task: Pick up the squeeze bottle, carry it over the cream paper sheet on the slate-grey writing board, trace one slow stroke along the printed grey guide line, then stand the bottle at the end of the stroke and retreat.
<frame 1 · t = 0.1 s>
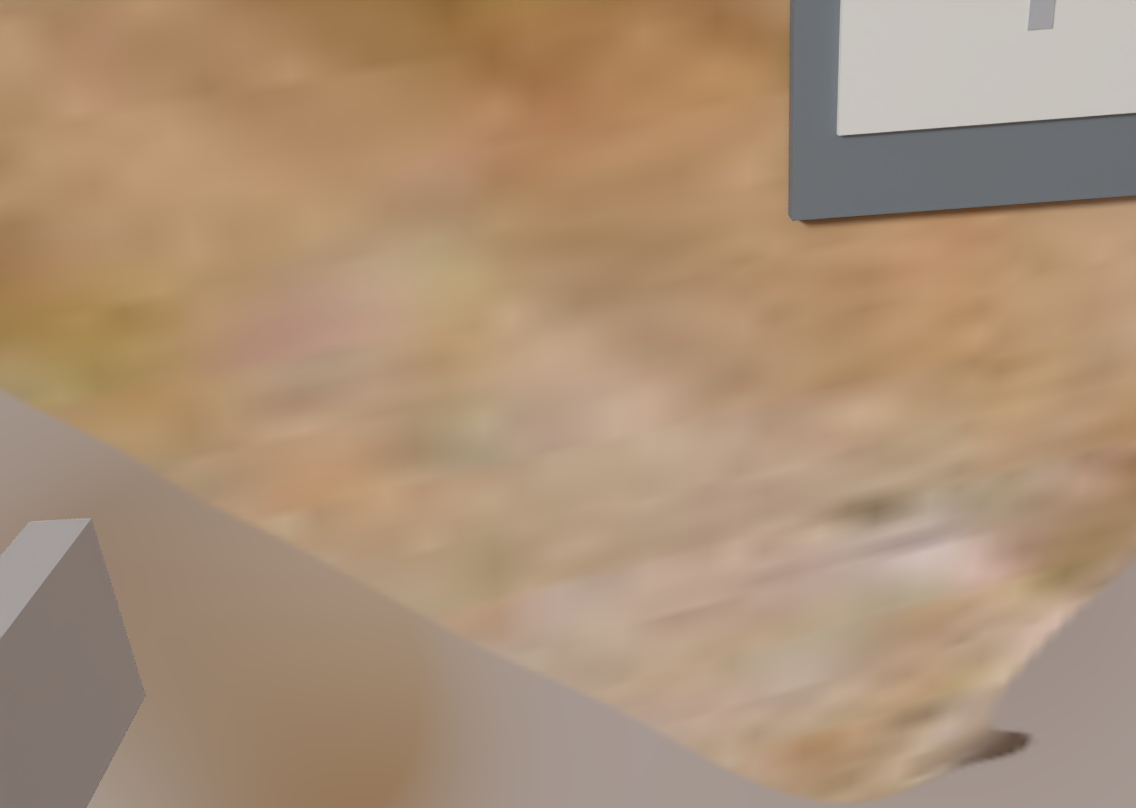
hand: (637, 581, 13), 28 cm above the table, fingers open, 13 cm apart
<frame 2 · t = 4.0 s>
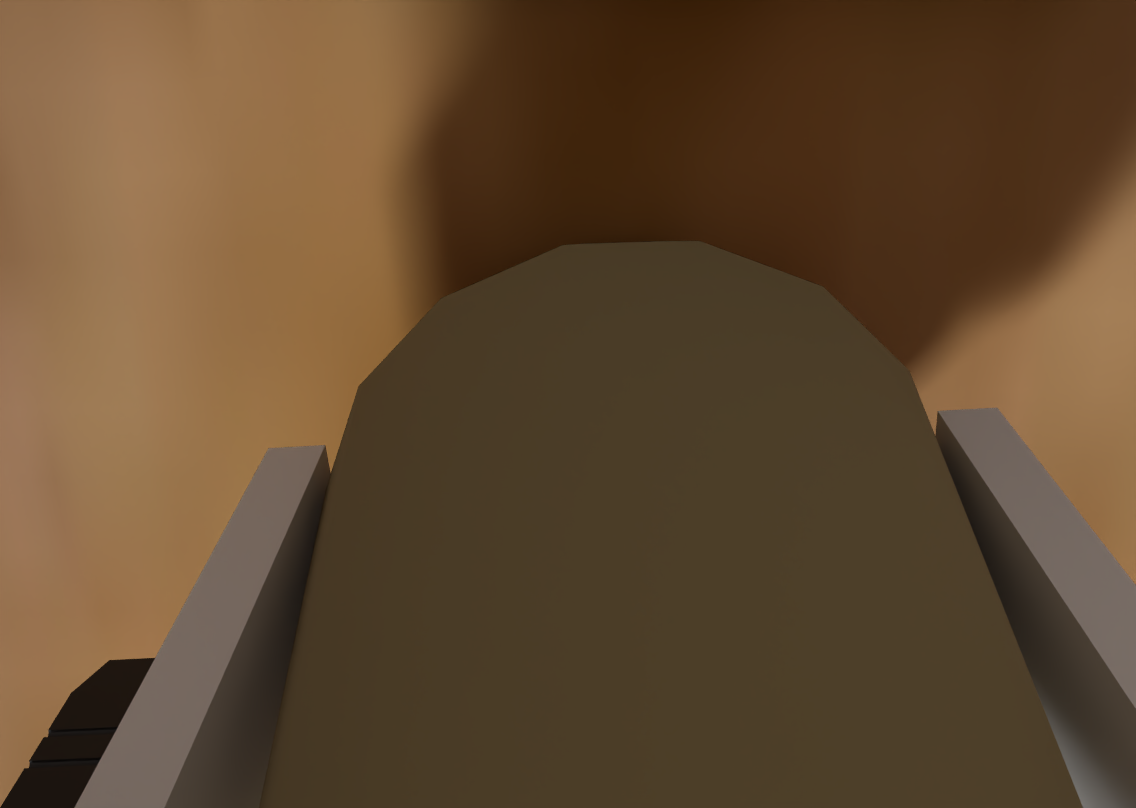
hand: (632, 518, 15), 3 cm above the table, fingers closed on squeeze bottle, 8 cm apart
squeeze bottle: (623, 405, 18), on the table, touching gripper
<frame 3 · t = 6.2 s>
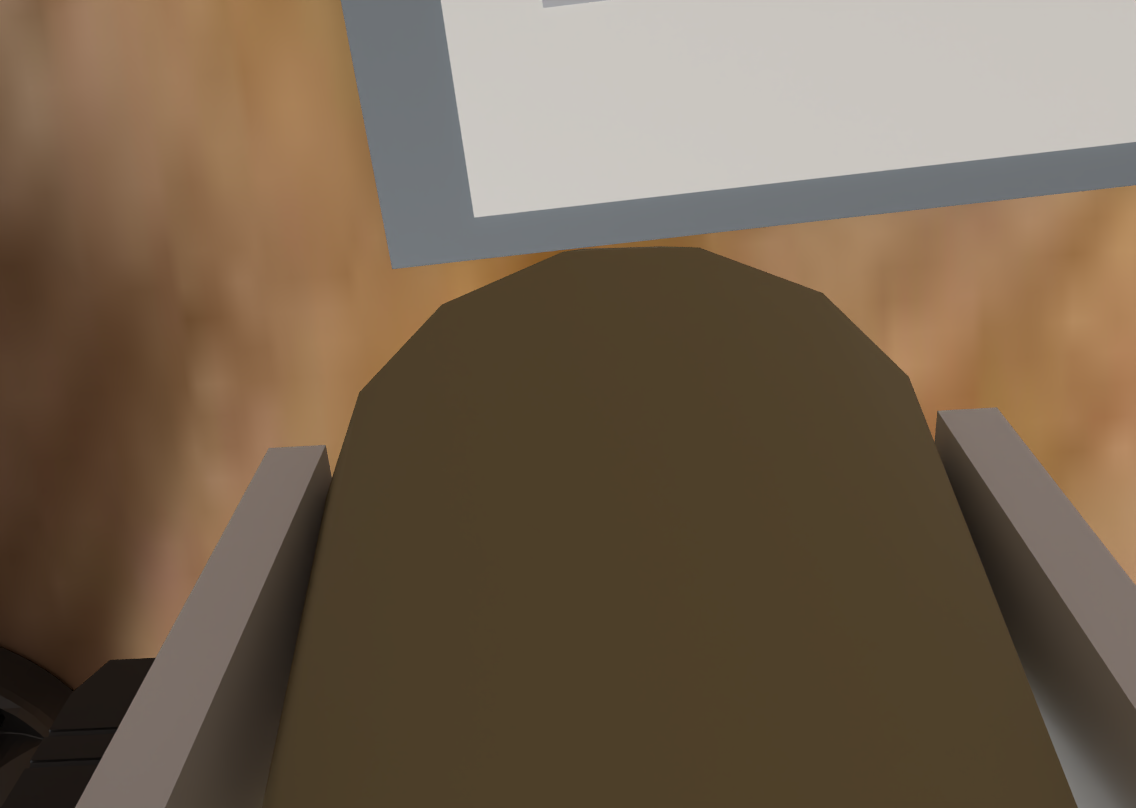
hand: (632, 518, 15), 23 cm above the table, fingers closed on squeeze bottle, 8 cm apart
squeeze bottle: (623, 409, 18), point 19 cm above the table, touching gripper
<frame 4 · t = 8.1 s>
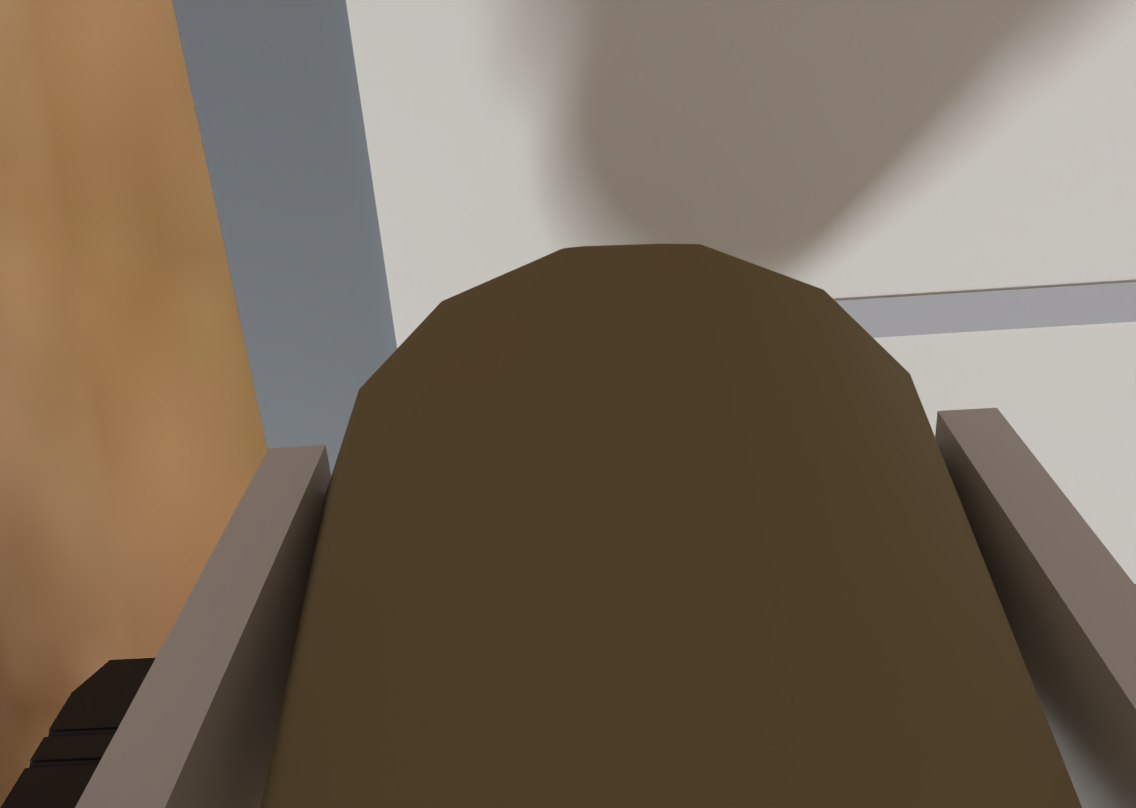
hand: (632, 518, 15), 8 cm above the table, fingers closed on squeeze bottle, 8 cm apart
writing board: (1007, 288, 21), on the table
squeeze bottle: (623, 407, 18), point 4 cm above the table, touching gripper
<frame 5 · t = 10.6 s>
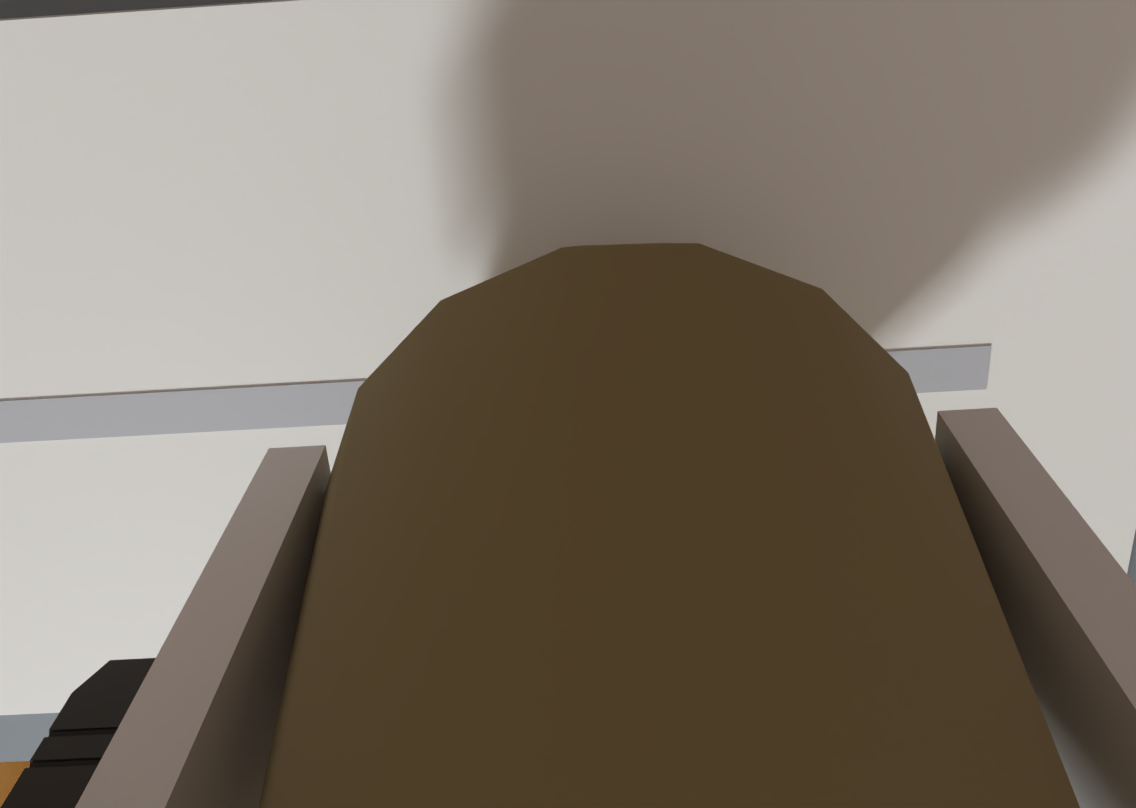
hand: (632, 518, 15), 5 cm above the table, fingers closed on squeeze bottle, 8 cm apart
writing board: (462, 369, 20), on the table
squeeze bottle: (622, 406, 18), point 2 cm above the table, touching gripper
when the fingers open (5 cm above the table, at t = 12.5 s): squeeze bottle stays where it is, resting on writing board.
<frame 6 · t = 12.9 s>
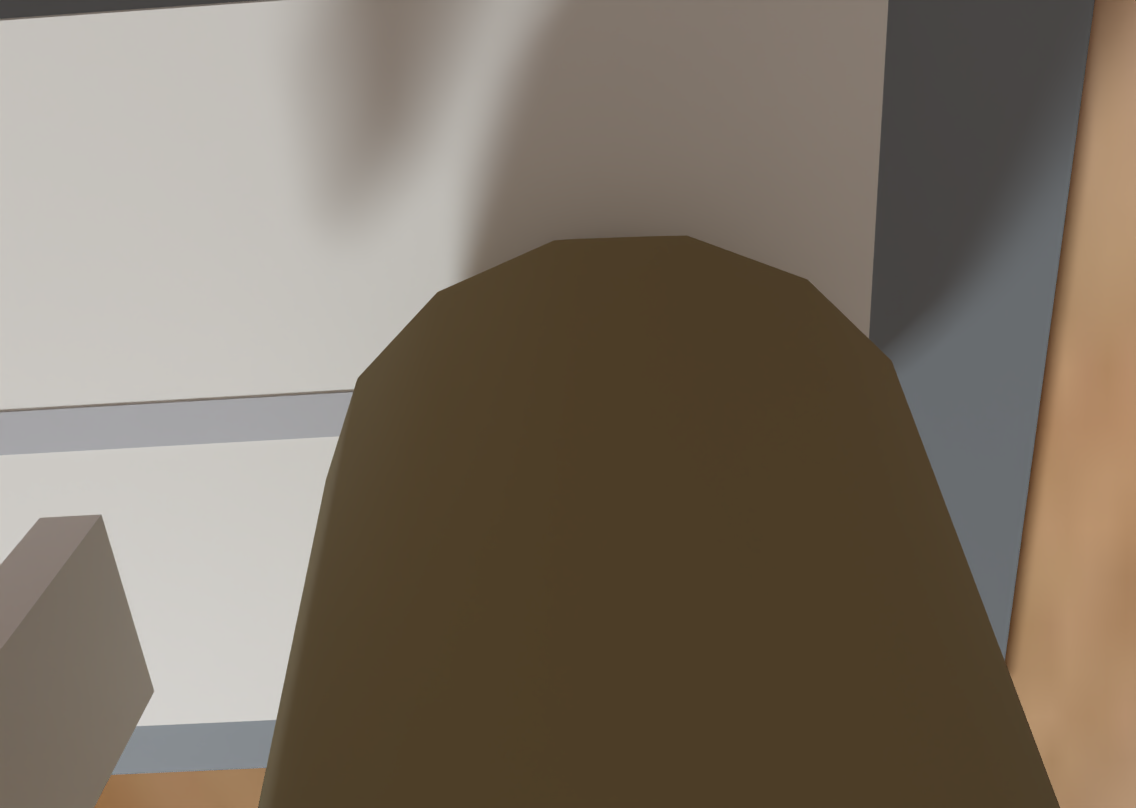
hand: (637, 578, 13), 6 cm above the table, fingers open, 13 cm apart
writing board: (168, 396, 19), on the table
squeeze bottle: (616, 396, 18), point 1 cm above the table, touching writing board
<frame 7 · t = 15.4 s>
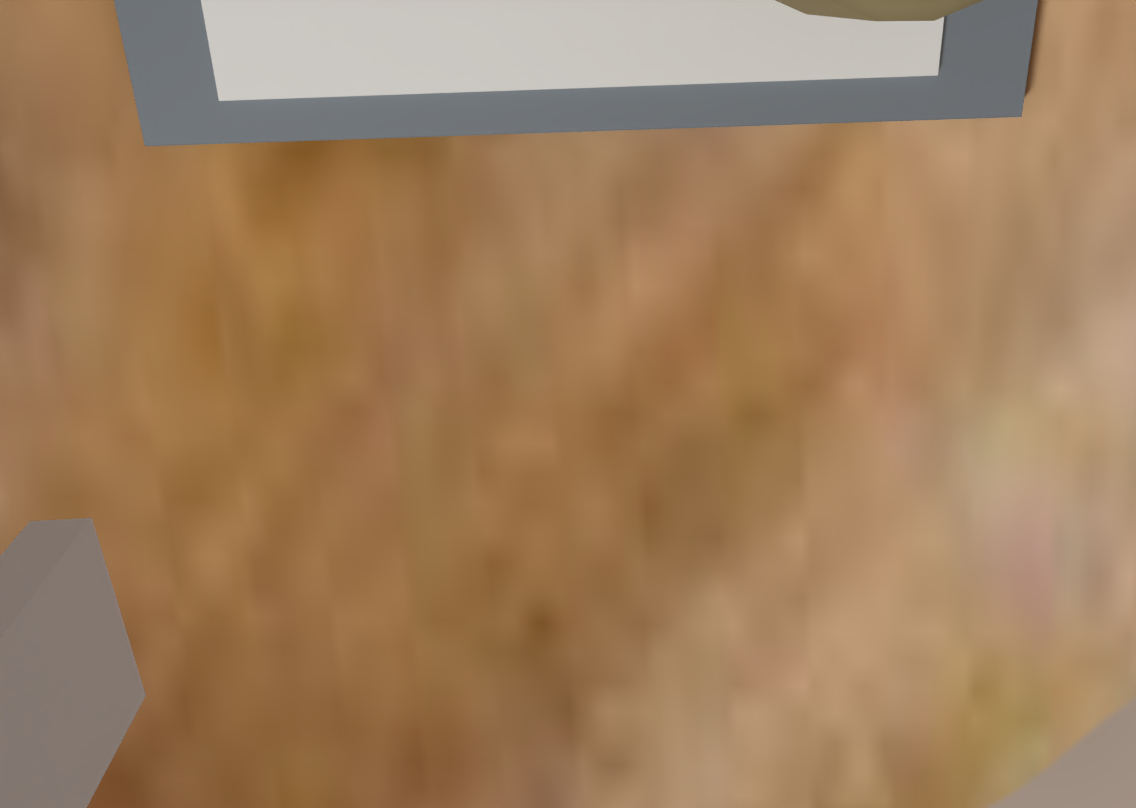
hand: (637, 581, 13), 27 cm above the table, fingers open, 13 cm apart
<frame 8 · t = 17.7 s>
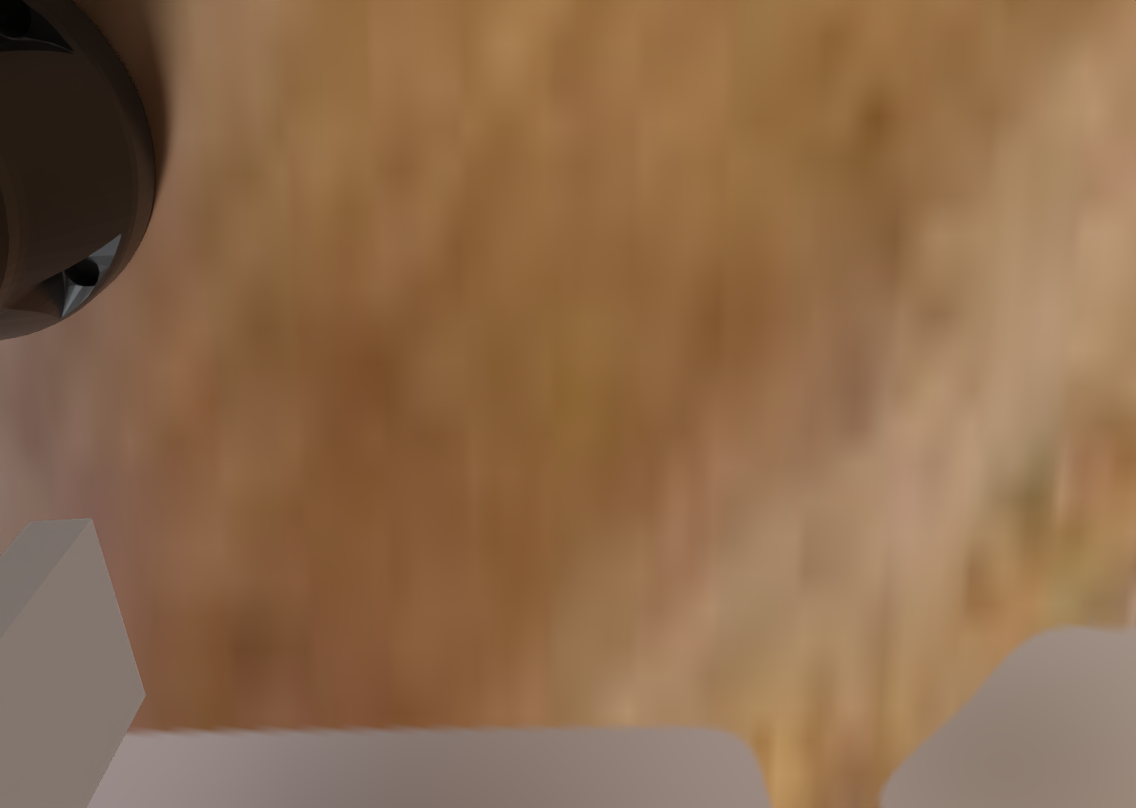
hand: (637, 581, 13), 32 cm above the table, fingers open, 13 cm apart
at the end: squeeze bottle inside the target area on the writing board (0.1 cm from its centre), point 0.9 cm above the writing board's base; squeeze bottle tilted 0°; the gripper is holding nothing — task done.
